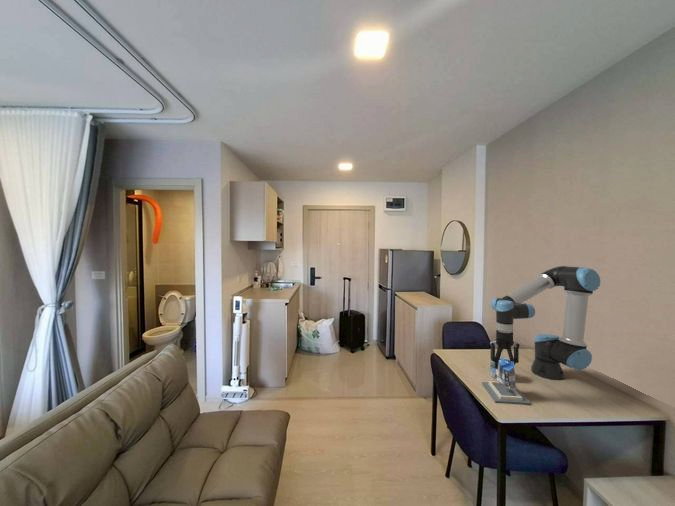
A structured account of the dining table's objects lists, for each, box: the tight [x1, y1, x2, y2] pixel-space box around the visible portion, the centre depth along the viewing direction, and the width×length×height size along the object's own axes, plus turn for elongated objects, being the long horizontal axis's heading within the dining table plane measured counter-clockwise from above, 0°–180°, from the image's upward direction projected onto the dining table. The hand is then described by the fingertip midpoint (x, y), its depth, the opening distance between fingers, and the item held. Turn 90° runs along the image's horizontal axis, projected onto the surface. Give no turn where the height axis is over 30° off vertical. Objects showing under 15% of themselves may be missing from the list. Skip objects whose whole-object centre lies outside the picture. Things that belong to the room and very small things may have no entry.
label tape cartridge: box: [496, 356, 517, 388], centre depth 139 cm, size 9×4×12 cm, turn 9°
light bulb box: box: [490, 356, 510, 379], centre depth 157 cm, size 11×7×11 cm, turn 47°
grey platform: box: [481, 380, 532, 406], centre depth 140 cm, size 16×18×2 cm
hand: (504, 375), depth 140 cm, fingers open, 5 cm apart
